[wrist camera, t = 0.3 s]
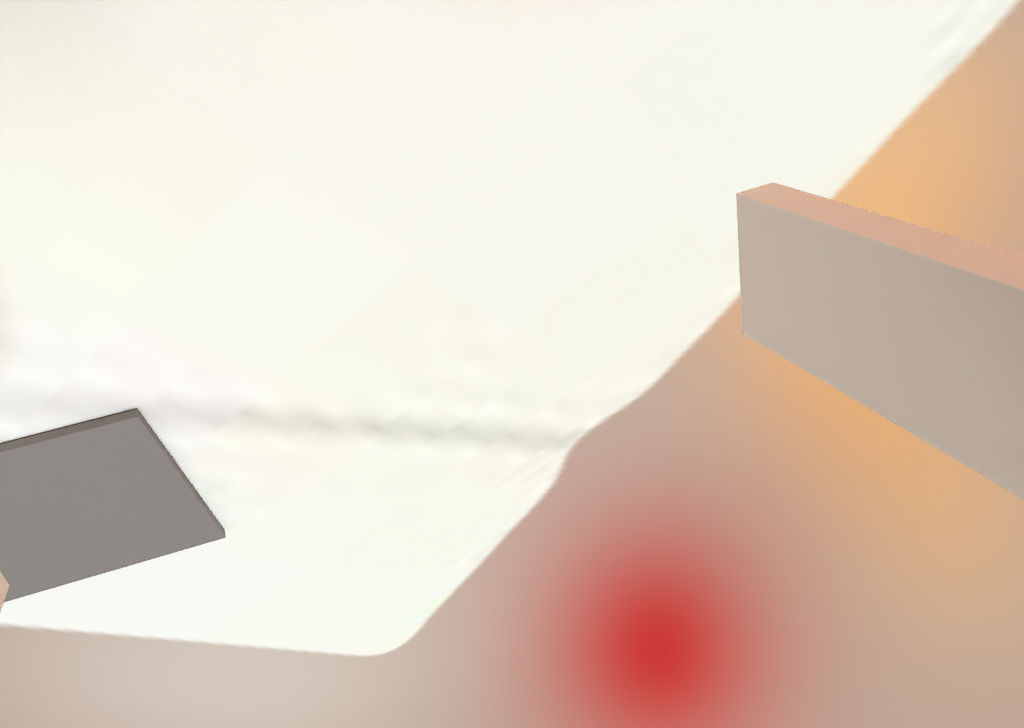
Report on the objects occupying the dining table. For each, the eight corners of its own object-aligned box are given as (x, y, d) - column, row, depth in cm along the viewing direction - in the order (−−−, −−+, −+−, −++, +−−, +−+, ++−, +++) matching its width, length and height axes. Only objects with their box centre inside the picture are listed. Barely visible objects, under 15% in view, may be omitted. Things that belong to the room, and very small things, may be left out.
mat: (-189, 492, 30) (-191, 501, 30) (137, 408, 32) (137, 416, 32) (-17, 600, 40) (-17, 608, 40) (224, 530, 42) (225, 537, 42)
